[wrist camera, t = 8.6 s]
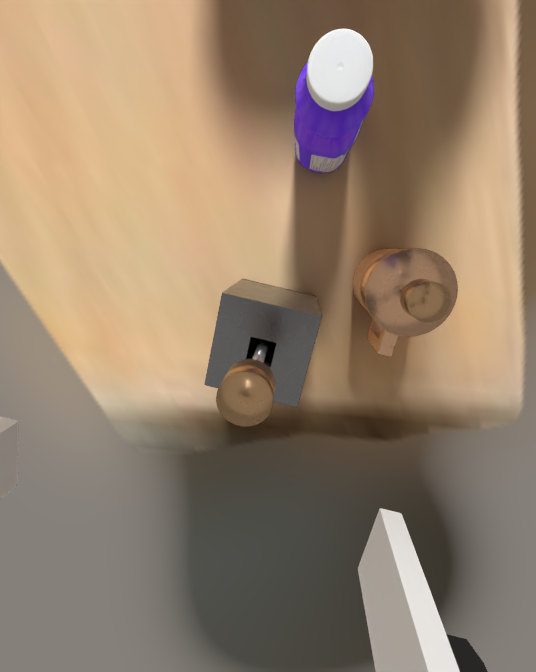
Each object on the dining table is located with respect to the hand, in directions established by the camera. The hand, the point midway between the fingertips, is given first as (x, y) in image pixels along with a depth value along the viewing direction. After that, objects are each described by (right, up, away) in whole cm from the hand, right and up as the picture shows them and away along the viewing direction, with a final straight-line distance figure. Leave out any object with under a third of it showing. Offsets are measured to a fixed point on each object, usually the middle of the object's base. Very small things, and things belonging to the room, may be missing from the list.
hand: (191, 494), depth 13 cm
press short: (+16, +11, +30) cm, 35 cm away
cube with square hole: (+3, +6, +32) cm, 33 cm away
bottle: (+9, +27, +26) cm, 38 cm away
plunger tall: (+3, +6, +28) cm, 29 cm away
